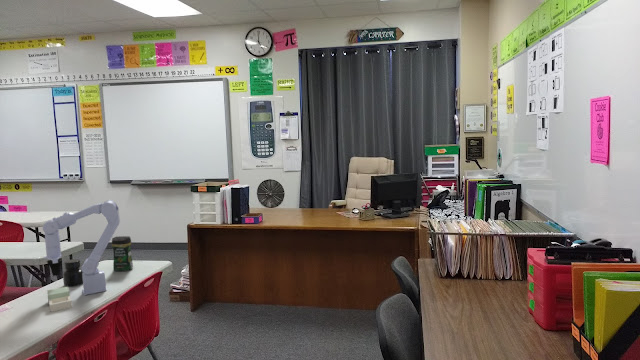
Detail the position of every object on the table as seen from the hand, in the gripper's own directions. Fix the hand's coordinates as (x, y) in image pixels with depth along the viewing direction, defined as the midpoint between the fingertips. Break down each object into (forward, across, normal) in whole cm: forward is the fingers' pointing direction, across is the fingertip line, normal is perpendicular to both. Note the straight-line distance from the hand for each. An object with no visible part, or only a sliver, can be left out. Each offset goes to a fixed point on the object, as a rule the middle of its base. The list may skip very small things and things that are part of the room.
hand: (55, 275), depth 204 cm
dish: (+10, +16, 0) cm, 19 cm away
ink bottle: (+10, -14, +8) cm, 19 cm away
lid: (+7, +9, 0) cm, 11 cm away
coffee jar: (+10, -26, +33) cm, 43 cm away
